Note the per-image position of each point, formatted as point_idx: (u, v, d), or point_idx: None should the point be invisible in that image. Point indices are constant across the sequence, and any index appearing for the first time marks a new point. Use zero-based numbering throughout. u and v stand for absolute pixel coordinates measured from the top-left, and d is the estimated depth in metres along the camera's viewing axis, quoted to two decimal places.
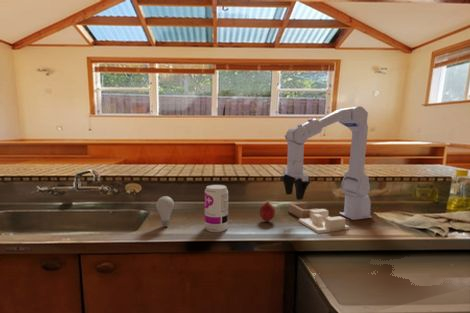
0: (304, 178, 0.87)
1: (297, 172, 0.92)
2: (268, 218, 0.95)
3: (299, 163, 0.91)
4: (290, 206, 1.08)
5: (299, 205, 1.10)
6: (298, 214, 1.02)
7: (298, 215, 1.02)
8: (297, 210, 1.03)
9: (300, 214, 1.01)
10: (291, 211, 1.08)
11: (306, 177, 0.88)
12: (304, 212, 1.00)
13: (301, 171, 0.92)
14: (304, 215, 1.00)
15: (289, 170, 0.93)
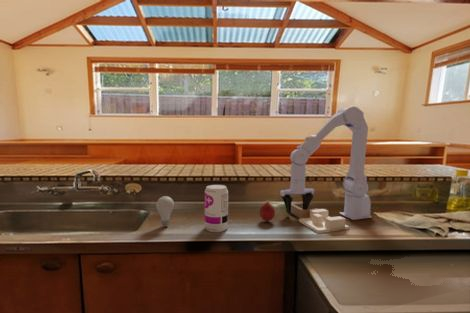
0: (280, 193, 1.03)
1: (290, 189, 1.04)
2: (268, 218, 0.95)
3: (291, 181, 1.03)
4: None
5: (299, 205, 1.10)
6: (298, 214, 1.02)
7: (298, 215, 1.02)
8: (297, 210, 1.03)
9: (300, 214, 1.01)
10: (291, 211, 1.08)
11: (281, 192, 1.02)
12: (304, 212, 1.00)
13: (293, 189, 1.02)
14: (304, 215, 1.00)
15: None
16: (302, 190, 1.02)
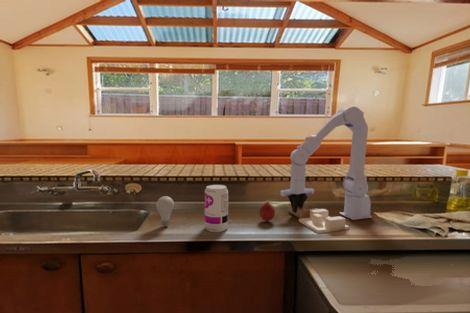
0: (280, 193, 1.03)
1: (290, 188, 1.04)
2: (268, 218, 0.95)
3: (291, 181, 1.03)
4: (290, 206, 1.08)
5: None
6: (298, 214, 1.02)
7: (298, 215, 1.02)
8: (297, 210, 1.03)
9: (300, 214, 1.01)
10: (291, 211, 1.08)
11: (281, 192, 1.02)
12: (304, 212, 1.00)
13: (293, 189, 1.02)
14: (304, 215, 1.00)
15: None
16: (302, 190, 1.02)
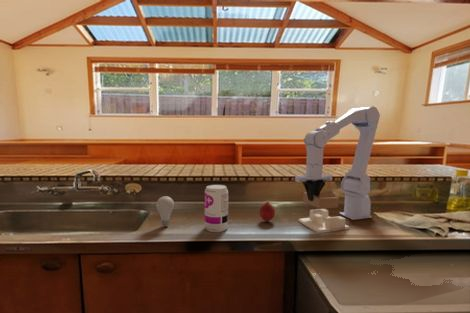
0: (295, 178, 0.93)
1: (306, 174, 0.94)
2: (268, 218, 0.95)
3: (307, 165, 0.93)
4: (305, 195, 0.99)
5: None
6: (315, 203, 0.93)
7: (314, 204, 0.93)
8: (313, 198, 0.94)
9: (317, 202, 0.91)
10: (306, 200, 0.98)
11: (296, 178, 0.92)
12: (322, 200, 0.91)
13: (309, 174, 0.93)
14: (321, 203, 0.91)
15: None
16: (319, 175, 0.92)
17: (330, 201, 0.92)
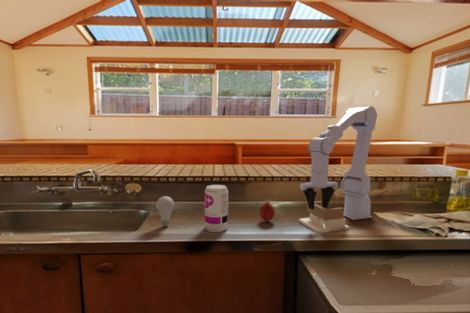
0: (300, 186, 0.91)
1: (311, 182, 0.92)
2: (268, 218, 0.95)
3: (312, 173, 0.91)
4: None
5: (319, 204, 0.98)
6: (319, 214, 0.90)
7: (319, 215, 0.90)
8: (318, 209, 0.91)
9: (322, 214, 0.89)
10: (310, 210, 0.96)
11: (301, 186, 0.90)
12: (327, 212, 0.88)
13: (314, 182, 0.90)
14: (327, 215, 0.88)
15: None
16: (325, 183, 0.90)
17: (335, 212, 0.89)
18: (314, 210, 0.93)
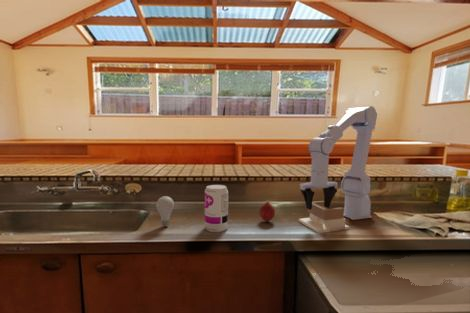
0: (300, 186, 0.91)
1: (311, 182, 0.92)
2: (268, 218, 0.95)
3: (312, 173, 0.91)
4: None
5: (319, 204, 0.98)
6: (319, 214, 0.90)
7: (319, 215, 0.90)
8: (318, 209, 0.91)
9: (322, 214, 0.89)
10: (310, 210, 0.96)
11: (301, 186, 0.90)
12: (327, 212, 0.88)
13: (314, 182, 0.90)
14: (327, 215, 0.88)
15: None
16: (325, 183, 0.90)
17: (335, 212, 0.89)
18: (314, 210, 0.93)
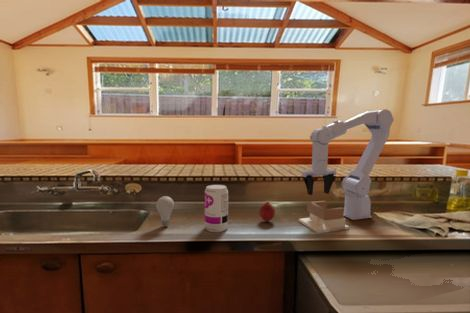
0: (302, 173, 0.98)
1: (312, 169, 1.00)
2: (268, 218, 0.95)
3: (313, 161, 0.99)
4: (309, 205, 0.96)
5: (319, 204, 0.98)
6: (319, 214, 0.90)
7: (319, 215, 0.90)
8: (318, 209, 0.91)
9: (322, 214, 0.89)
10: (310, 210, 0.96)
11: (303, 173, 0.98)
12: (327, 212, 0.88)
13: (315, 169, 0.98)
14: (327, 215, 0.88)
15: None
16: (325, 170, 0.97)
17: (335, 212, 0.89)
18: (314, 210, 0.93)
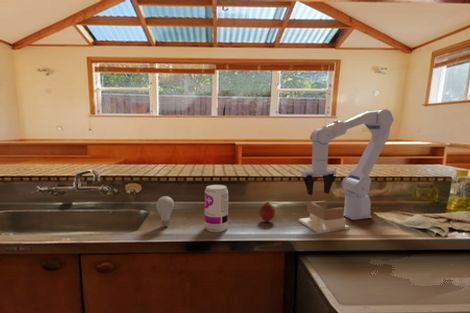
0: (302, 173, 0.98)
1: (312, 169, 1.00)
2: (268, 218, 0.95)
3: (313, 161, 0.99)
4: (309, 205, 0.96)
5: (319, 204, 0.98)
6: (319, 214, 0.90)
7: (319, 215, 0.90)
8: (318, 209, 0.91)
9: (322, 214, 0.89)
10: (310, 210, 0.96)
11: (303, 173, 0.98)
12: (327, 212, 0.88)
13: (315, 169, 0.98)
14: (327, 215, 0.88)
15: None
16: (325, 170, 0.97)
17: (335, 212, 0.89)
18: (314, 210, 0.93)
